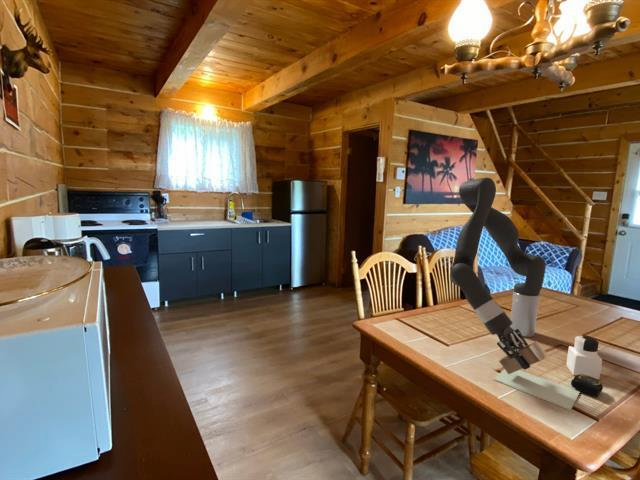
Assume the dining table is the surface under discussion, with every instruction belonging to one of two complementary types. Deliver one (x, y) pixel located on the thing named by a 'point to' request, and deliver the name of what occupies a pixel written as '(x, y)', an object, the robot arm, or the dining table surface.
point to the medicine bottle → (584, 357)
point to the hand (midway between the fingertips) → (529, 365)
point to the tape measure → (587, 384)
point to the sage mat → (539, 388)
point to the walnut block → (529, 352)
